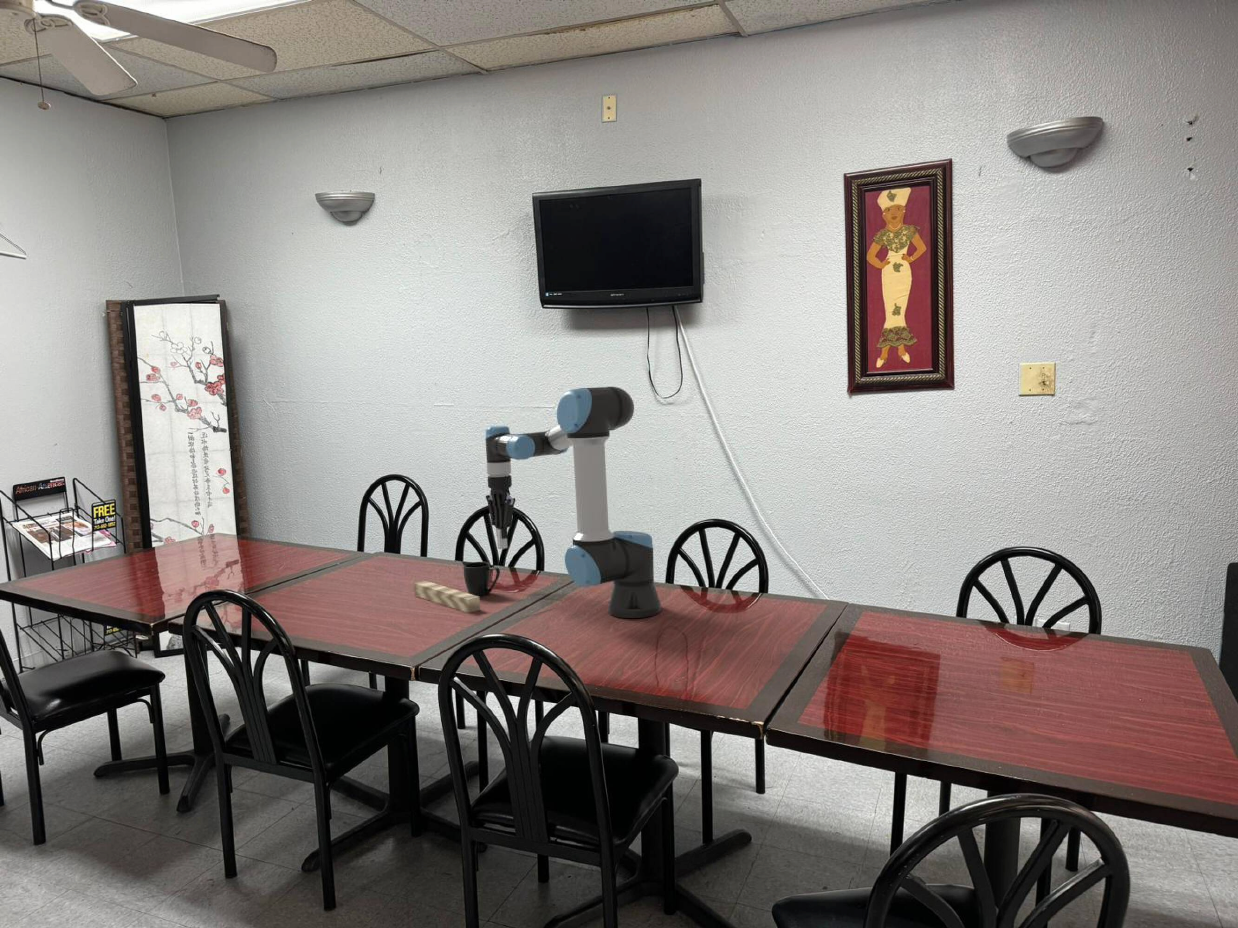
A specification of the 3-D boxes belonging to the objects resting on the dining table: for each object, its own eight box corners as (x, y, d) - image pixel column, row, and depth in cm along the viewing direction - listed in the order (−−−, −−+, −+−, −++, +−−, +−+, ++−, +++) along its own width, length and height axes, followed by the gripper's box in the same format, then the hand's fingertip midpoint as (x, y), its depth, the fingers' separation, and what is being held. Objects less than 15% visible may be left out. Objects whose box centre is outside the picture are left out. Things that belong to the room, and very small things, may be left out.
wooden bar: (480, 609, 259) (479, 596, 258) (468, 612, 256) (467, 599, 255) (425, 592, 280) (425, 580, 280) (414, 595, 278) (413, 583, 277)
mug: (492, 599, 269) (491, 569, 268) (459, 596, 274) (458, 566, 273) (506, 592, 277) (505, 563, 276) (474, 590, 282) (472, 560, 281)
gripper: (521, 475, 277) (524, 549, 280) (496, 472, 286) (500, 543, 289) (501, 478, 272) (505, 553, 275) (477, 474, 281) (481, 547, 284)
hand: (502, 548), depth 282 cm, fingers closed
